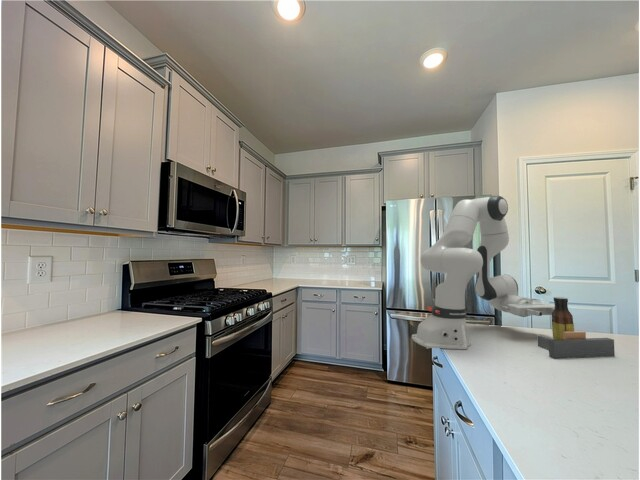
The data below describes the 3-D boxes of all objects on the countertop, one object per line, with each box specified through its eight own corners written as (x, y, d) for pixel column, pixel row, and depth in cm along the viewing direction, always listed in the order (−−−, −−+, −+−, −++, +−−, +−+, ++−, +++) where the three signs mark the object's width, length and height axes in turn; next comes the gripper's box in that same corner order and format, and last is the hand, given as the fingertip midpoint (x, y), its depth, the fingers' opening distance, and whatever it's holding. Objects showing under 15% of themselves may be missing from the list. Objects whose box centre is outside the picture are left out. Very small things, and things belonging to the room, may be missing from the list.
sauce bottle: (573, 349, 100) (571, 297, 101) (578, 354, 95) (576, 299, 96) (550, 345, 103) (549, 295, 104) (554, 350, 98) (552, 298, 99)
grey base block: (554, 358, 91) (554, 341, 91) (524, 346, 103) (523, 330, 103) (614, 356, 93) (613, 339, 93) (578, 344, 105) (577, 329, 105)
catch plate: (566, 353, 94) (566, 332, 95) (563, 351, 95) (562, 331, 96) (586, 352, 95) (585, 332, 95) (582, 351, 96) (581, 331, 97)
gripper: (499, 299, 117) (527, 306, 103) (540, 299, 119) (572, 305, 105) (500, 313, 117) (527, 322, 103) (541, 313, 119) (573, 321, 105)
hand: (550, 313), depth 104 cm, fingers open, 8 cm apart
